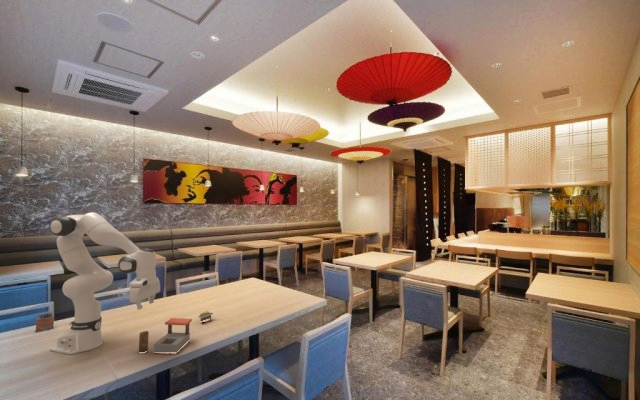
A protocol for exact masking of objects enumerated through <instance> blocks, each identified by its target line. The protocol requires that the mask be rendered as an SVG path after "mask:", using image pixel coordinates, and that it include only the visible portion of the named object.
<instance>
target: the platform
mask: <svg viewBox="0 0 640 400" xmlns="http://www.w3.org/2000/svg"><path fill="white" fill-rule="evenodd" d="M212 315H214V312H210V311H208V310H207V311H204V312H200V313H199V315H198V319H199V320H200V321H203V320H206V319H209V318H211V319H212Z"/></svg>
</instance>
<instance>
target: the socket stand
mask: <svg viewBox="0 0 640 400" xmlns="http://www.w3.org/2000/svg"><path fill="white" fill-rule="evenodd" d="M191 322H193V318H185V317H184V318H181V317H179V318H177V317H171V318H169V319H168V320H167V321H165V322H164V325H165V326H167V333H166V334H165V335H163V336H162V337H161V338H160V339H158V340H157V341H155V342H154V343H153V351H152V352H177V351H178V350H179V349H180V348H181V347H182V346H183V345H184V344H185V343H186V342H187V341H188V340H191V339H190V338H191V336H190V335H191V333H190V323H191ZM173 326H185V331H184V332H175V331H174V332H173Z"/></svg>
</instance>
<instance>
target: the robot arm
mask: <svg viewBox="0 0 640 400" xmlns="http://www.w3.org/2000/svg"><path fill="white" fill-rule="evenodd" d="M49 223H50V224H49V230H50V232H51V233H52V234H53V235H54V236H57V238H56V246H57V250H58V253H59V255H60V257H61V259H62V261H63V263H64V265H65V266H66V267H65V268H66V269H68V271H71V272H74V273H75V274H77V275H76V276H73V277H71V278H69V279H66V281H64V283H63V285H62V288H61V289H62V293H63V295H64V296H65V297H67V298H69V299H70V300H71V301H72V303H73V306H74V320H73V321H70V322H69V323H68V324H69V326H70V328H68V329H67V330H66V331H65V332H63V333H62V334H60V335H59V336H58V338H57V340H56V341H57V342H56V344H54V345H53V346H52V347H50V349H49V351H50V352H54V353H60V354H66V355H75V354H78V353H81V352H86V351H90V350H93V349H96V348H98V347H100V346H102V344H104V340H103V337H102V330H101V328H102V303H101V301H100V300H98V299H96V298H95V293H96V292H99V291H102V290H105V289H106V288H107V287H109V286H111V284H113V281H114V275H113V273H112V272H111V271H109V270H107V269H104V268H103V267H101V266H100V265H99V264H98V263H97V262H96V261H95V260H94V259H93V257H92V256H91V254H90V252H89V251H88V249H87V247H86V244H85V243H84V241H83V238H84V237H88V238H89V239H90V240H91V241H93V242H94V243H95V244H97V245H100V246H109V247H117V248H119V249H121V250H123V251H124V252H125V253H127V254H126V255H124V256H122V257H120V259H119V260H118V263H117V267H118V270H119V272H120V273H123V274H125V275H129V274H132V273H136V274H135V275H136V276H135V278H134V279H132V281H130V282H129V284H128V285H129V287H130V288H129V290H128V291H129V293H128V294H129V295H128V296H129V302H130V303H131V304H133V303H134V304H135V305H136V309H137V310H139V311H140V310H142V309H143V304H142V301H143V300H145V299H148V298H149V301H148V304H154V302H155V297H156V295H157V294H158V293H160V292H161V280H160V279H159V277H158V276H157V271H156V266H157V255H156V252H155V250H154V249H152V248H149V247H144V248H143V247H140V246H139V245H138V244H136V243H135V242H134V241H133V240H131V239H130V237H128V236H127V235H126V234H124V233H123V232H120V231H119V230H117V229H116V228H115V227H114V226H113V225H112V224H111V223H110V222H109V221H108V220H106V219H105V218H104V217H103V216H102V215H100V214H99V213H97V212H93V211H91V212H87V213H85V214H71V215H61V216H56V217H54V218H53V219H51V221H50V222H49Z"/></svg>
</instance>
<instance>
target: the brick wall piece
mask: <svg viewBox="0 0 640 400" xmlns="http://www.w3.org/2000/svg"><path fill="white" fill-rule="evenodd" d="M54 321H55V315H53V312H45V313H39V314H37V318H35V333H41V332H46V331H50V330H53V329H55V327H54V326H55V325H54V323H55V322H54Z"/></svg>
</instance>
